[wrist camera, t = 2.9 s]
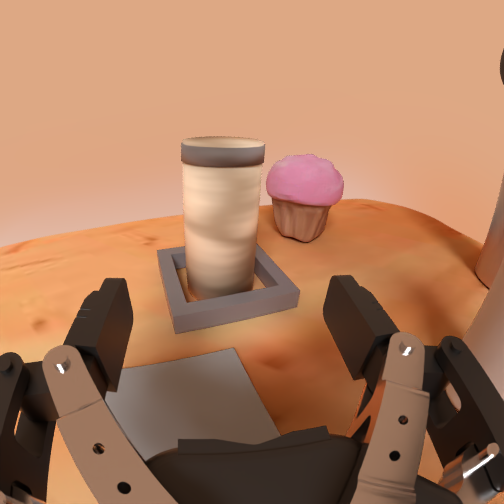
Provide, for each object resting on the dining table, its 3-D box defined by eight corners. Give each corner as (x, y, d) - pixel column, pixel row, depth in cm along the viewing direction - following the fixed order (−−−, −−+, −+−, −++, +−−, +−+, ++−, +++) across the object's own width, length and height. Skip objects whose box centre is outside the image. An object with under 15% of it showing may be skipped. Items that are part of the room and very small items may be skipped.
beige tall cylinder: (239, 263, 27) (246, 136, 22) (265, 298, 23) (280, 145, 17) (180, 272, 25) (175, 137, 19) (195, 312, 20) (189, 145, 15)
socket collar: (250, 251, 29) (251, 237, 29) (296, 306, 22) (300, 290, 21) (158, 264, 26) (156, 250, 25) (175, 333, 18) (172, 316, 17)
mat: (233, 351, 17) (233, 347, 17) (299, 471, 10) (301, 469, 10) (98, 376, 14) (96, 372, 14) (119, 513, 7) (116, 512, 7)
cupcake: (340, 233, 36) (353, 158, 31) (323, 260, 29) (339, 166, 24) (279, 216, 39) (286, 146, 34) (248, 238, 32) (254, 151, 27)
